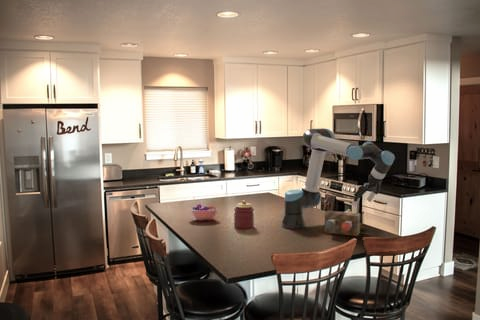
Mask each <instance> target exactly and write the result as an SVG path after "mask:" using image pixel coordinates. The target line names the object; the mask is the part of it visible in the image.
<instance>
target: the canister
mask: <svg viewBox="0 0 480 320" xmlns="http://www.w3.org/2000/svg"><path fill="white" fill-rule="evenodd" d="M253 206H254V205H253V204H252V203H250V202H247V200H244V199H243V200H242V201H241V202H238V203H236V204H235V208H234V209H233V210H234V213H233V216H234V217H233V221H234V222H233V226H234V228H235V229H236V230H237V229H238V230H251V229H254V226H255V213H254V211H255V209H254V207H253Z"/></svg>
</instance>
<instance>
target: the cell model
mask: <svg viewBox="0 0 480 320" xmlns="http://www.w3.org/2000/svg"><path fill="white" fill-rule="evenodd" d="M189 211H190V213H191V215H192V217H193V218H194V219H195V220H197V221H202V222H203V221H212V220H213V219H215V218H216V217H217V215H218V214H219V208H218V207H215V206H209V205H206V206H205V205H204V206H202V204H201V203H199V204H196V206H193V207H191V208H189Z"/></svg>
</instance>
